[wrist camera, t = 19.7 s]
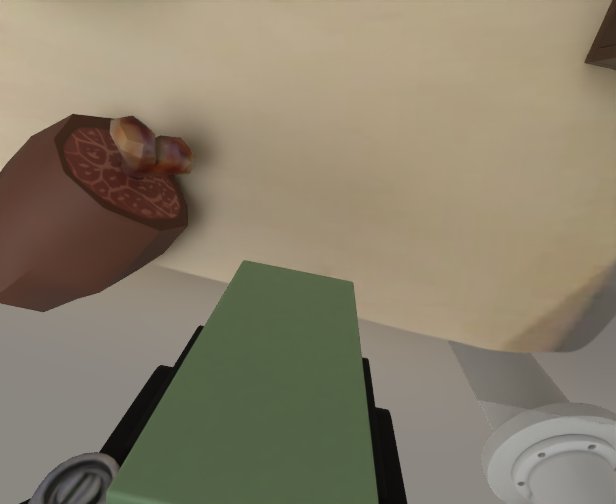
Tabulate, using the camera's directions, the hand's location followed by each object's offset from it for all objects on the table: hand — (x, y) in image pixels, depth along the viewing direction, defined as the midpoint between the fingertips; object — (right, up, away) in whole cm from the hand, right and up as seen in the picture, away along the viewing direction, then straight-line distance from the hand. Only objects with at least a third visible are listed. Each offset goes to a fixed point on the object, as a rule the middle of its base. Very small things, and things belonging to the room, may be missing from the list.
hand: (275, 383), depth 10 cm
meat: (-14, +6, +20) cm, 25 cm away
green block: (0, +1, +2) cm, 2 cm away
